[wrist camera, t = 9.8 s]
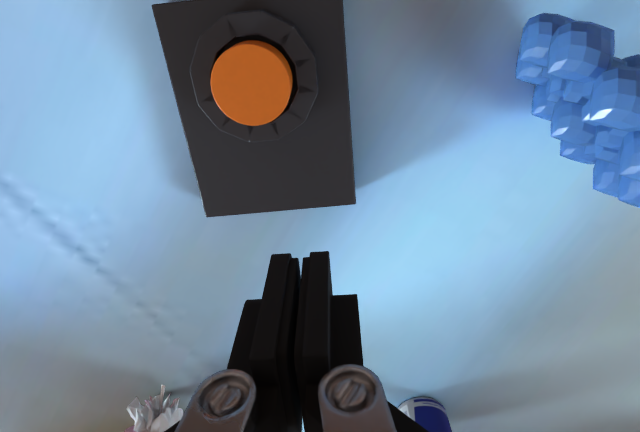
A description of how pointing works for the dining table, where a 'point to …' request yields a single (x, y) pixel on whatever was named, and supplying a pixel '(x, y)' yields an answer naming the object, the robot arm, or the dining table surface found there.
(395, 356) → the dining table surface
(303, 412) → the robot arm
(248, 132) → the button base
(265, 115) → the orange push button
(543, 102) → the grapes
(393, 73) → the dining table surface
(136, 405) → the flower
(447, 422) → the energy drink
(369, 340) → the dining table surface
